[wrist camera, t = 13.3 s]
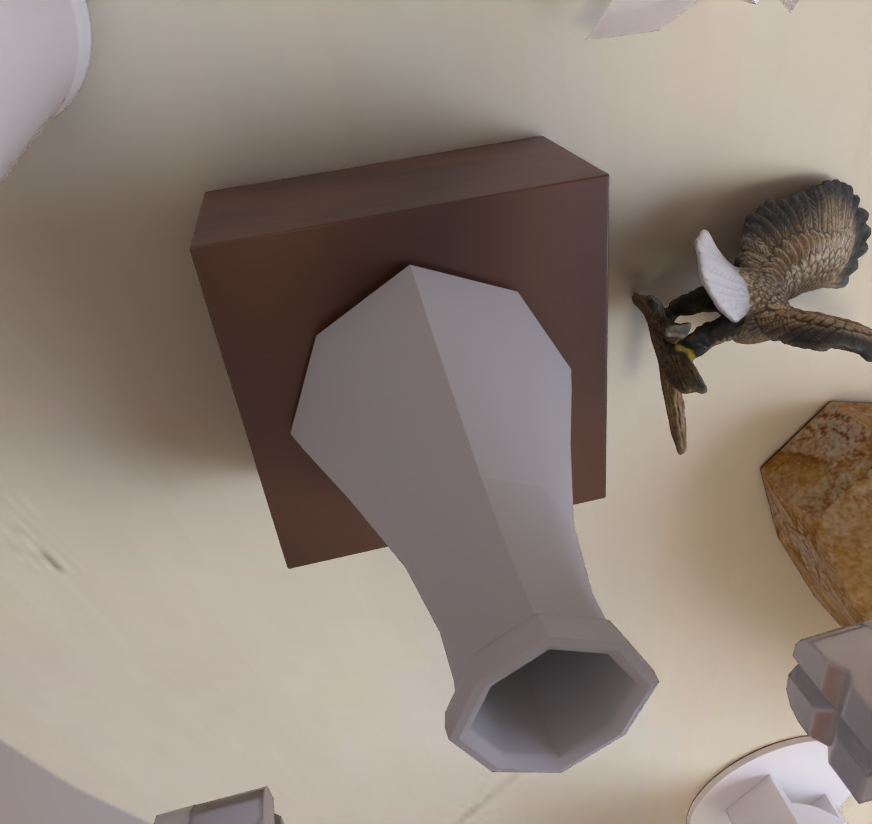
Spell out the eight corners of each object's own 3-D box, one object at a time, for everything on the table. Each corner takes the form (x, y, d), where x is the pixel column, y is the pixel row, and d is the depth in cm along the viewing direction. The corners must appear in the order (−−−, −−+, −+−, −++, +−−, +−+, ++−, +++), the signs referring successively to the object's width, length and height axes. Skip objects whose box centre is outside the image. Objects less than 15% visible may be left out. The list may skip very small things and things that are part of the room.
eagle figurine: (652, 446, 27) (905, 395, 26) (699, 465, 20) (1050, 396, 19) (609, 246, 27) (860, 187, 26) (641, 193, 20) (988, 109, 19)
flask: (455, 536, 22) (570, 876, 14) (242, 439, 19) (223, 804, 11) (611, 354, 20) (862, 628, 12) (399, 208, 17) (532, 440, 8)
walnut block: (284, 473, 26) (287, 570, 22) (204, 192, 21) (188, 247, 16) (553, 416, 27) (606, 498, 23) (543, 135, 22) (610, 174, 17)
